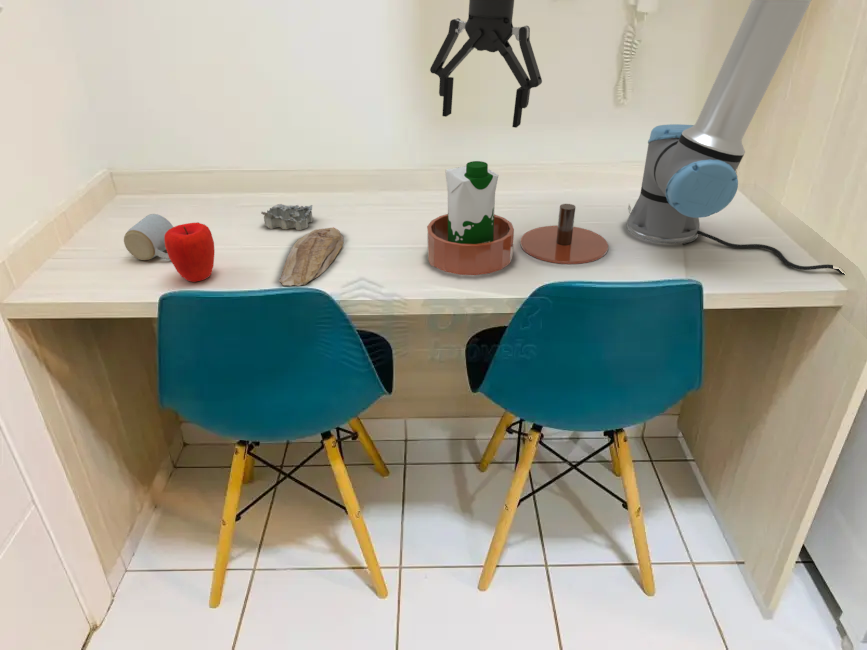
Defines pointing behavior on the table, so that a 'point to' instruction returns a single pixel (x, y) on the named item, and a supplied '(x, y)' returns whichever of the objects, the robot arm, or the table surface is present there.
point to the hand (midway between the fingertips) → (480, 120)
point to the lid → (564, 241)
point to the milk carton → (471, 203)
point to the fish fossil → (311, 256)
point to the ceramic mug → (148, 237)
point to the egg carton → (288, 217)
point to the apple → (191, 250)
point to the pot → (469, 249)
